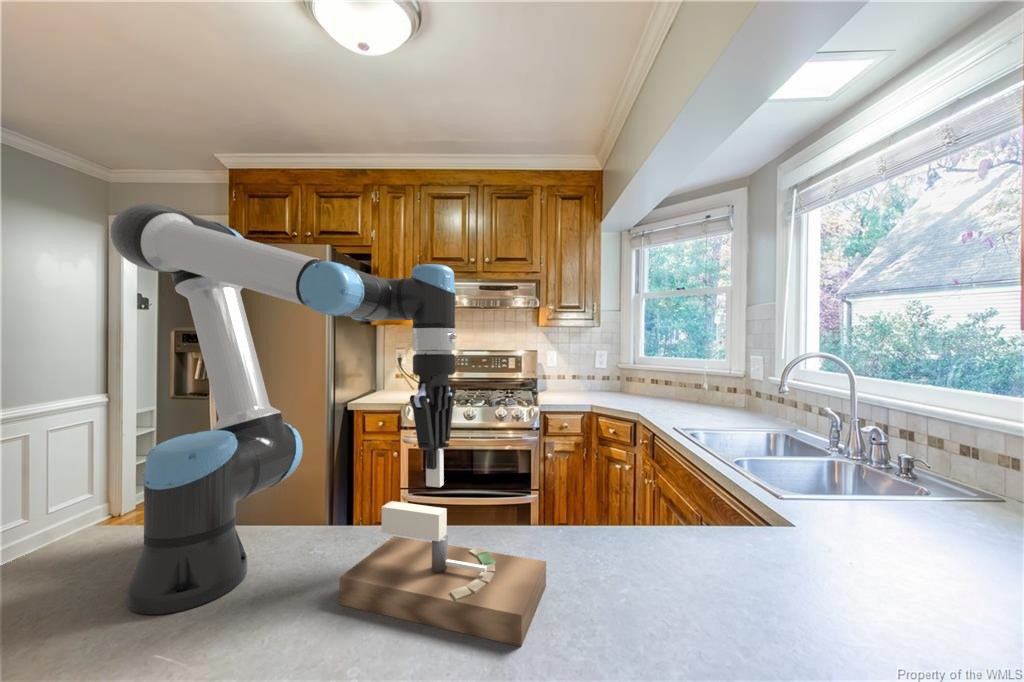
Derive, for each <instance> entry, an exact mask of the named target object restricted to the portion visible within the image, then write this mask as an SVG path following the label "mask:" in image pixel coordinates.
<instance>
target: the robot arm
mask: <svg viewBox="0 0 1024 682" xmlns="http://www.w3.org/2000/svg"><path fill="white" fill-rule="evenodd" d="M110 225H111V226H110V238H111V241H112V244H113V247H115V250H116V252H118V253H119V254H120V256H122V257H123V258H124V259H125V260H127V262H129V263H132V265H135V266H137V267H139V268H143V269H146V270H148V271H149V270H150V271H154V272H159V273H163V274H167V275H168V274H169V275H171V278H172V283H173V287H174V290H175V292H176V293H177V294H180V295H181V296H183V297H185V298H186V299H187V301H188V305H189V308H190V312H191V317H192V320H193V324H194V329H195V332H196V335H197V339H198V344H199V348H200V352H201V356H202V359H203V363H204V368H205V370H206V375H207V379H208V382H209V387H210V391H211V394H212V398H213V402H214V406H215V409H216V413H217V417H218V420H217V422H216V423H215V424H214V425H213V427H212V429H211V430H205V431H204V430H203V431H198V432H195V433H188V434H187V433H186V434H183V435H180V436H175V437H173V438H170V439H168V440H165V441H163V442H161V443H159V444H156V445H155V446H153V448H151V450H150V451H149V452H148V453H147V456H146V458H145V465H144V472H143V475H142V484H143V547H142V551H141V552H140V556H139V558H138V561H137V563H136V566H135V569H134V571H133V575H132V577H131V579H130V582H129V584H128V587H127V595H126V596H127V597H126V599H127V600H126V604H127V608H128V609H129V611H132V612H134V613H137V614H142V615H164V614H170V613H172V614H173V613H175V612H180V611H185V610H189V609H192V608H196V607H198V606H201V605H205V604H206V603H209V602H211V601H214V600H216V599H219V598H220V597H221V596H224V595H225V594H227V593H228V592H230V591H232V590H233V589H234V588H236V587H237V586H239V585H240V584H241V582H242V581H244V579H245V578H246V576H247V574H248V556H247V553H246V552H245V549H244V547H243V544H242V541H241V538H240V536H239V533H238V531H237V529H236V510H237V509H236V506H237V505H236V503H238V502H239V501H242V500H244V499H246V498H248V497H250V496H253V495H254V494H257V493H258V492H260V491H263V490H265V489H268V488H270V487H275V486H276V485H278V484H279V483H281V482H282V481H283V480H286V479H288V477H290V476H291V475H292V474H293V473H294V472H295V471H296V469H297V468H298V466H299V465H300V462H301V460H302V457H303V450H304V449H303V441H302V436H301V435H300V433H299V431H298V430H297V429H296V428H294V427H292V425H291V424H289V423H286V422H284V419H283V416H282V415H283V414H282V411H281V410H279V409H278V408H275V407H273V406H271V403H270V401H269V397H268V393H267V389H266V386H265V381H264V377H263V373H262V370H261V366H260V362H259V359H258V354H257V352H256V347H255V344H254V341H253V336H252V333H251V329H250V325H249V321H248V318H247V314H246V310H245V306H244V305H245V304H244V302H243V299H242V295H241V291H242V290H243V289H244V288H245V289H248V290H251V291H255V292H257V293H261V294H264V295H268V296H271V297H275V298H278V299H282V300H285V301H288V302H289V301H290V302H292V303H295V304H299V305H302V306H306V307H309V308H310V309H311V310H313V311H314V312H317V313H319V314H320V313H321V314H324V315H327V316H333V317H341V316H342V317H350V318H351V319H352V320H356V321H363V322H375V321H400V320H402V321H403V320H405V321H408V320H409V321H410V320H411V321H412V350H413V352H415V354H413V356H412V373H413V375H414V376H418V377H419V380H418V384H417V391H418V392H417V393H416V394H411V395H410V397H409V402H410V405H411V407H412V411H413V417H414V423H415V425H414V426H415V433H416V439H417V440H416V441H417V448H418V449H420V450H424V451H425V486H426V487H433V488H441V487H442V486H444V484H445V481H444V479H445V476H444V475H445V474H444V473H445V472H444V469H445V468H444V461H445V460H444V452H445V451H444V448H449V446H450V442H449V441H450V439H451V431H452V421H453V420H452V419H453V411H454V410H453V409H454V400H455V396H456V392H457V391H456V388H451V387H450V379H449V376H453V375H454V374H456V372H457V371H456V365H457V364H456V361H457V360H456V355H455V353H453V351H455V350H456V339H457V338H458V335H457V334H456V294H457V291H456V284H455V272H454V270H453V269H452V268H451V267H449V266H447V265H444V264H437V263H436V264H435V263H426V264H423V263H422V264H417V265H415V266H414V267H412V270H411V277H406V278H405V277H404V278H382V277H379V276H375V275H373V274H371V273H367V272H363V271H360V270H358V269H355V268H352V267H350V266H348V265H346V264H344V263H343V264H342V263H339V262H335V261H328V260H322V259H319V258H318V257H317V258H315V257H312V256H309V255H305V254H302V253H298V252H295V251H291V250H287V249H283V248H279V247H276V246H272V245H268V244H265V243H262V242H259V241H258V242H257V241H255V240H250V239H247V238H245V237H244V236H242V234H241V233H239V232H238V231H236V230H235V229H232V228H230V227H229V226H226V225H225V224H223V223H221V222H217V221H213V220H207V219H204V218H201V217H200V216H199V217H198V216H195V215H192V214H191V213H190V214H189V213H187V212H184V211H181V210H178V209H175V208H172V207H169V206H166V205H162V204H156V203H148V202H147V203H139V204H134V205H131V206H128V207H126V208H124V209H122V210H121V211H120V212H119V213H117V215H116V216H115V217H114V218H113V220H112V222H111V224H110Z"/></svg>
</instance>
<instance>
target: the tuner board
mask: <svg viewBox="0 0 1024 682" xmlns="http://www.w3.org/2000/svg"><path fill="white" fill-rule="evenodd" d="M448 559H449V560H455V561H461V562H466V563H472V564H478V565H483V566H487V571H486V572H479V571H474V570H468V569H463V568H457V567H452V566H447V569H446V570H444V571H441V572H436V571H433V570H432V541H428V540H427V541H425V540H422V539H416V538H415V539H414V538H410V537H408V538H407V537H404V536H398V535H395V536H394V535H393V536H391V537H390V538H389V539H388V540H387V541H385V542H384V543H383V544H381V545H380V546H378V547H377V548H376V549H375V550H374V551H372V552H370V554H369V555H367V556H365V558H363V559H361V560H360V561H358V563H356V564H355V565H354V566H352V567H351V568H350V569H349V570H347V571H346V572H344V573H343V574H342V575H341V576H339V605H341V606H345V607H350V608H354V609H358V610H363V611H367V612H372V613H375V614H378V615H379V614H381V615H384V616H388V617H393V618H398V619H402V620H404V621H410V622H415V623H418V624H423V625H427V626H432V627H436V628H439V629H445V630H448V631H453V632H458V633H461V634H466V635H470V636H473V637H479V638H483V639H488V640H491V641H495V642H496V641H497V642H500V643H505V644H508V645H512V646H518V647H522V646H523V644H524V641H525V639H526V637H527V634H528V631H529V630H530V626H531V624H532V622H533V620H534V617H535V614H536V612H537V609H538V607H539V604H540V603H541V599H542V597H543V595H544V592H545V589H546V588H547V561H546V560H540V559H533V558H527V557H522V556H517V555H511V554H510V555H509V554H505V553H498V552H492V551H487V550H485V549H483V548H481V547H480V546H477V547H475V548H468V547H462V546H456V545H455V546H454V545H451V544H450V545H449V544H448Z"/></svg>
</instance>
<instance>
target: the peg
mask: <svg viewBox="0 0 1024 682" xmlns="http://www.w3.org/2000/svg"><path fill="white" fill-rule="evenodd" d="M447 510H448V509H447V508H446V507H439V506H438V507H436V506H431V505H430V506H429V505H422V504H415V503H410V502H409V503H408V502H402V501H401V502H400V501H394V500H391V501H389V502H387V503H385V504H384V505H382V506H381V533H384V534H390V535H395V536H400V537H406V538H407V537H408V538H412V539H414V538H415V539H418V540H424V541H425V540H427V541H430V542H432V570H433V571H436V572H441V571H444V570H446V569H447V566H452V567H457V568H463V569H468V570H474V571H479V572H486V571H487V566H483V565H478V564H472V563H466V562H461V561H455V560H449V559H448V545H449V543H448V542H449V541H448V539H449V537H448V535H447V533H448V532H447V530H448V529H447V527H448V526H447V521H448V520H447V518H448V517H447V515H448V514H447V513H448V511H447Z"/></svg>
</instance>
